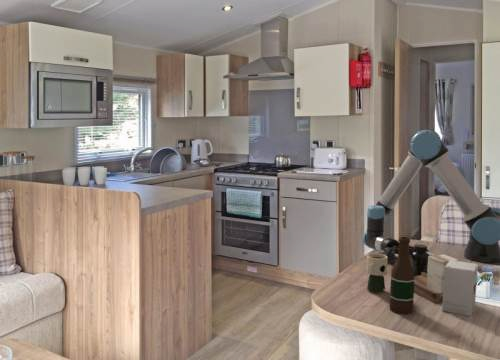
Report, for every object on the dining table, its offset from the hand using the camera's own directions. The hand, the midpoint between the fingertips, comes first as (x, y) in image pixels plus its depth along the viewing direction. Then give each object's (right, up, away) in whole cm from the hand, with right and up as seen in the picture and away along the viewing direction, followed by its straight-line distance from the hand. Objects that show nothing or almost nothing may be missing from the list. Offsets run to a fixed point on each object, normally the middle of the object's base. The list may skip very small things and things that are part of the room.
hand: (420, 260), depth 192 cm
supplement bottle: (0, -6, +2) cm, 7 cm away
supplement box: (+2, -11, -31) cm, 33 cm away
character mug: (-21, -9, -15) cm, 28 cm away
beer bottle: (-17, -11, -32) cm, 38 cm away
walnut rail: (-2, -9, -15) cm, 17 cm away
